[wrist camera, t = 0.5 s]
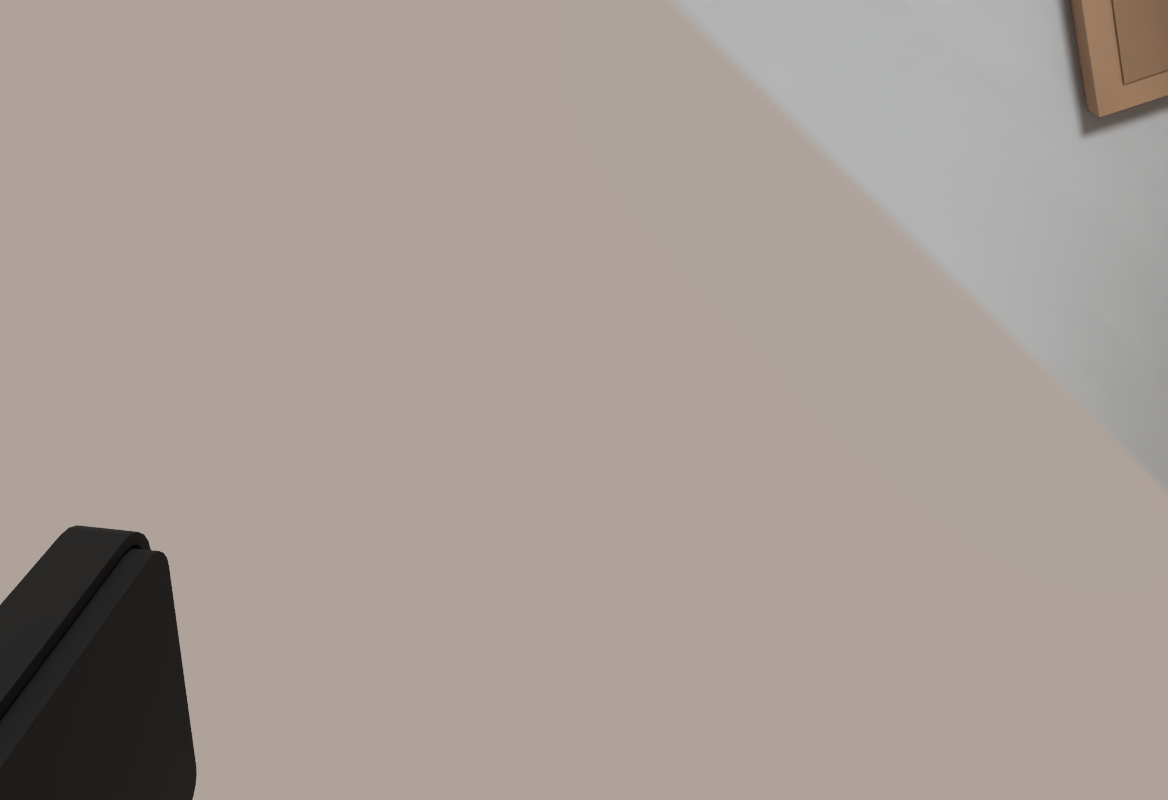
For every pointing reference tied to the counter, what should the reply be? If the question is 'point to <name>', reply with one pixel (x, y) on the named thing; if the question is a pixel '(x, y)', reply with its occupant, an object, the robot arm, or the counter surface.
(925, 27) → the counter surface
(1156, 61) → the coaster
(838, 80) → the counter surface
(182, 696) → the robot arm
